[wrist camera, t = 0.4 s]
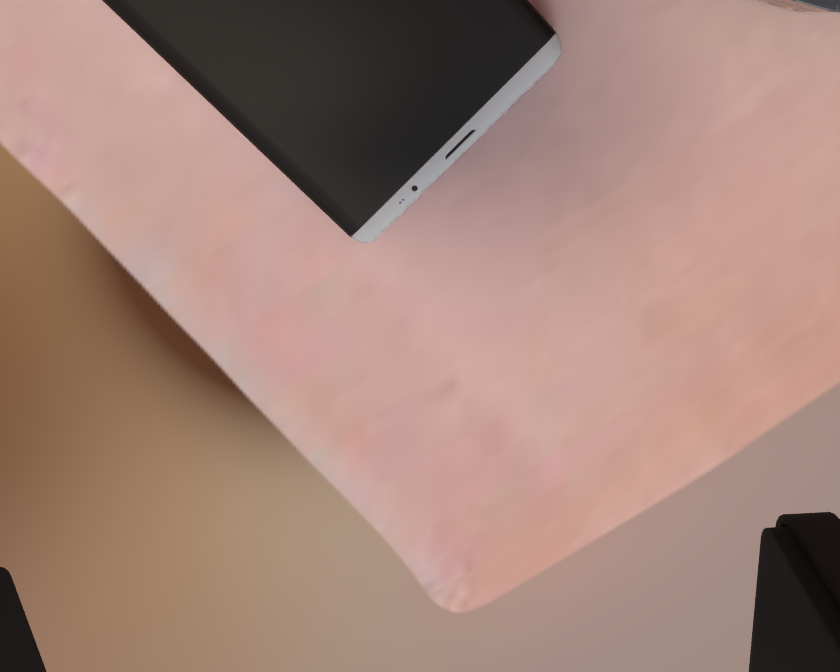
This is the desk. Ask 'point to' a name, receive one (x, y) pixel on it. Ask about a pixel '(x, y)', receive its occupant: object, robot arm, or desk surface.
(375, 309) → the desk surface
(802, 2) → the pan
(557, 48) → the smartphone
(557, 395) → the desk surface
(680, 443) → the desk surface
